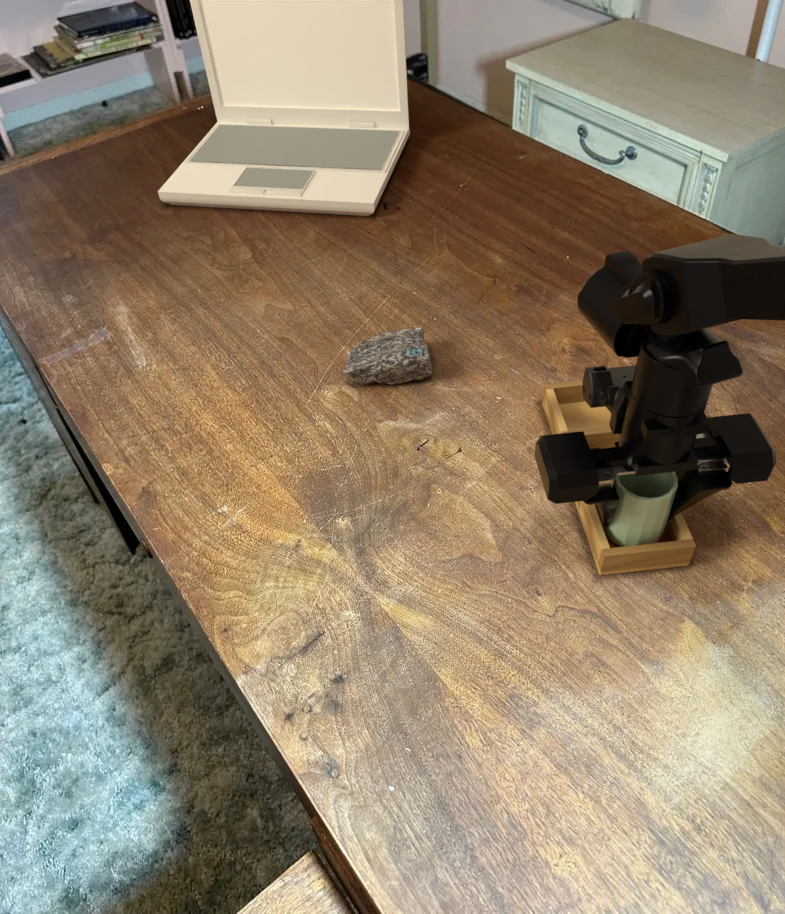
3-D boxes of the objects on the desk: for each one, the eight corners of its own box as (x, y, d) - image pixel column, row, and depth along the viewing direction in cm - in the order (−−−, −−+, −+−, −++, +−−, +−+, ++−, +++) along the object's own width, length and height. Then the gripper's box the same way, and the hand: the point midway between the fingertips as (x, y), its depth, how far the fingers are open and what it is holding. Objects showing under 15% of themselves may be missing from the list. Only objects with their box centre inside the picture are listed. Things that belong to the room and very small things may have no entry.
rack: (688, 565, 69) (696, 545, 67) (599, 575, 69) (604, 556, 67) (615, 396, 85) (619, 375, 83) (542, 404, 85) (544, 384, 83)
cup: (670, 546, 69) (687, 496, 64) (612, 553, 69) (624, 503, 64) (651, 502, 73) (665, 451, 68) (596, 508, 73) (607, 458, 68)
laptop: (162, 207, 121) (101, 8, 101) (223, 133, 139) (181, -49, 118) (375, 219, 114) (356, 9, 94) (410, 140, 132) (401, -51, 111)
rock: (348, 349, 94) (344, 321, 91) (431, 345, 93) (430, 317, 90) (345, 390, 88) (341, 362, 85) (433, 387, 88) (432, 358, 85)
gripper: (745, 317, 65) (702, 446, 76) (527, 340, 64) (516, 466, 76) (806, 406, 57) (749, 534, 68) (558, 433, 57) (542, 557, 68)
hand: (635, 519), depth 70 cm, fingers closed on cup, 5 cm apart
